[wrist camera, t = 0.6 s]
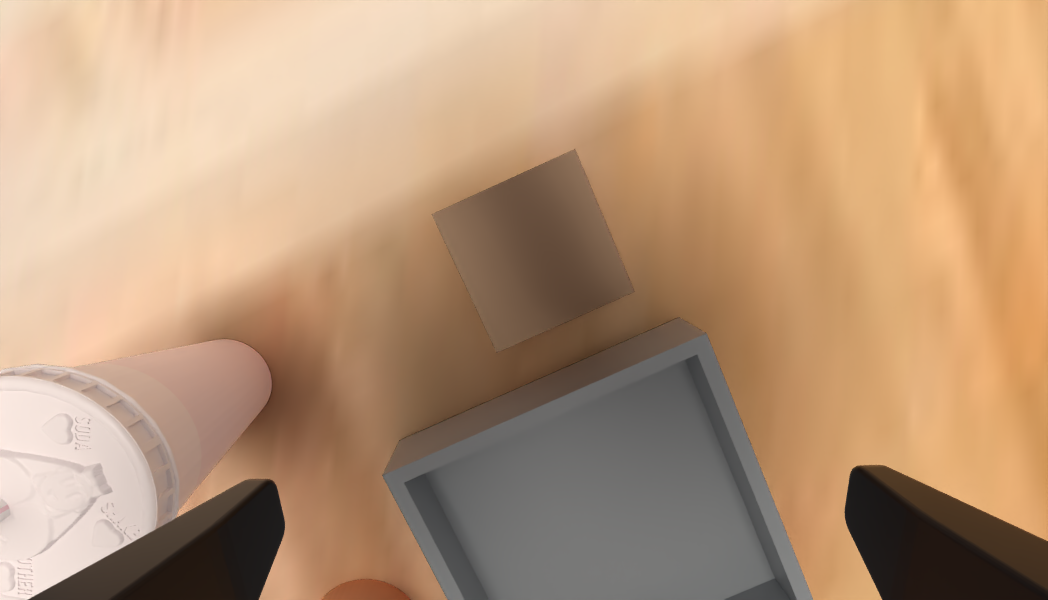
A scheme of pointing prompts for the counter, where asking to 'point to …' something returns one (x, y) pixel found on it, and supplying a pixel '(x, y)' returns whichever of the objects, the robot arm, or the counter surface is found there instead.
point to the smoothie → (112, 451)
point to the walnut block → (534, 251)
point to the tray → (600, 486)
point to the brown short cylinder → (365, 591)
